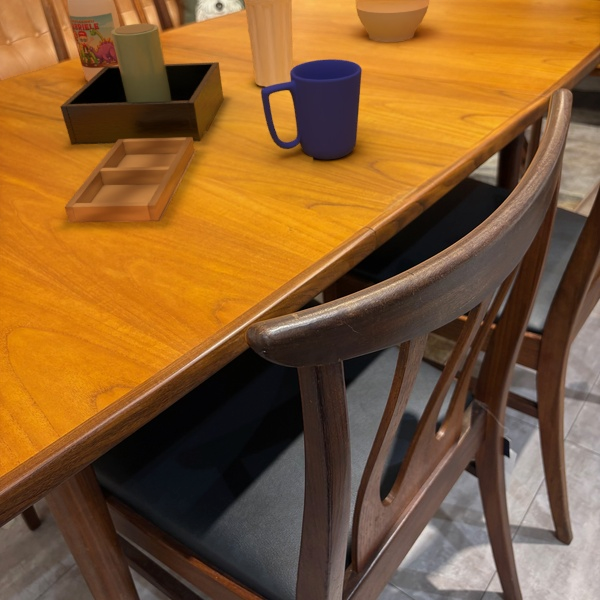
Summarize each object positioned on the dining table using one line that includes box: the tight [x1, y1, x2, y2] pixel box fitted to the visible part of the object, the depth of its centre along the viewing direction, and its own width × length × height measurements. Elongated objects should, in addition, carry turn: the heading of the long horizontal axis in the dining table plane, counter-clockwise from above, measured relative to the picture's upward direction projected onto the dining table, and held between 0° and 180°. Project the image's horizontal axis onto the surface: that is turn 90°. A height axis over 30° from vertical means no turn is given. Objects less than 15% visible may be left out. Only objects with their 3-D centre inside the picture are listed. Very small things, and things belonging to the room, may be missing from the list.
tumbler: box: [111, 23, 172, 102], centre depth 84 cm, size 6×6×12 cm
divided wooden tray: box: [64, 137, 197, 223], centre depth 70 cm, size 10×18×2 cm, turn 176°
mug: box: [260, 58, 363, 160], centre depth 73 cm, size 8×12×10 cm
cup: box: [243, 0, 294, 88], centre depth 95 cm, size 8×8×14 cm
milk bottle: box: [66, 0, 121, 82], centre depth 101 cm, size 8×8×20 cm
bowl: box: [355, 0, 430, 43], centre depth 117 cm, size 16×16×9 cm
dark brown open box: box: [59, 61, 225, 145], centre depth 87 cm, size 18×18×6 cm
